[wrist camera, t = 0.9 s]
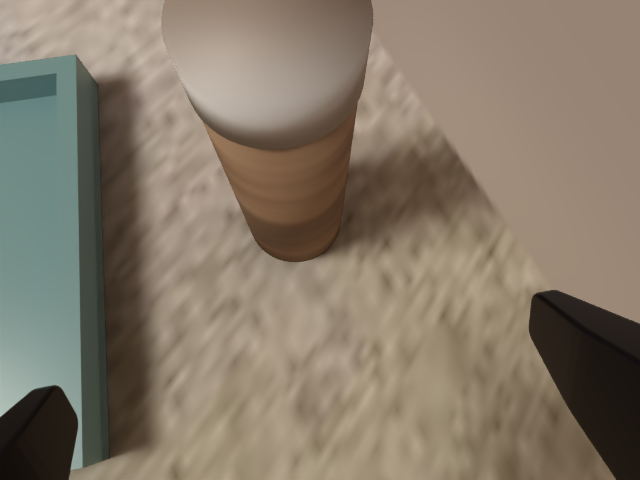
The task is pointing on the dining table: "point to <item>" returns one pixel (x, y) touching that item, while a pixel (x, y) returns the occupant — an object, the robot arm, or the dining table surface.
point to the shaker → (277, 106)
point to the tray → (53, 244)
